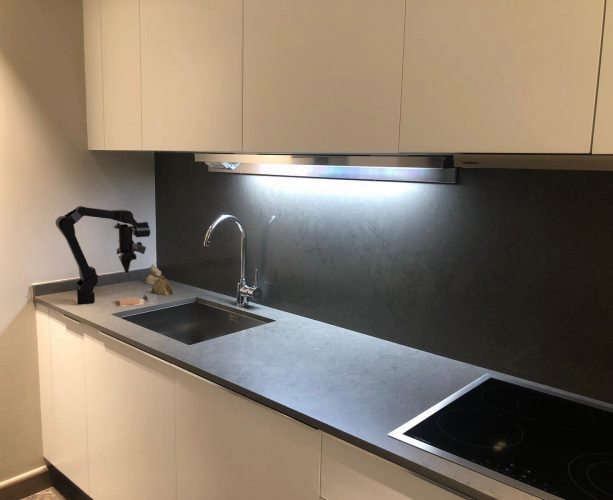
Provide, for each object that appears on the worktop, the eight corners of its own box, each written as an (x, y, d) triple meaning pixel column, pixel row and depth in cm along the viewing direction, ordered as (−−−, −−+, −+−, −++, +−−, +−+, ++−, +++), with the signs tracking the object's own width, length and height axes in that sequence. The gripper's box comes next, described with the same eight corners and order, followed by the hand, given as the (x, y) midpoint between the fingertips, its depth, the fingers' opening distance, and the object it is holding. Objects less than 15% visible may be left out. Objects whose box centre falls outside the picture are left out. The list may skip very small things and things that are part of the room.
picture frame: (118, 302, 241) (119, 305, 235) (117, 298, 240) (119, 302, 235) (137, 300, 244) (139, 303, 238) (136, 296, 244) (139, 300, 238)
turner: (145, 303, 238) (145, 301, 238) (141, 297, 249) (141, 295, 248) (152, 303, 240) (152, 300, 239) (148, 297, 250) (148, 294, 250)
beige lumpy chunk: (155, 285, 276) (154, 265, 274) (143, 283, 280) (142, 264, 278) (162, 283, 281) (162, 264, 279) (151, 281, 284) (150, 262, 283)
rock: (144, 289, 258) (152, 290, 250) (154, 273, 260) (162, 274, 252) (163, 300, 263) (171, 302, 255) (172, 285, 266) (181, 286, 258)
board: (114, 308, 233) (114, 306, 233) (111, 302, 242) (111, 301, 242) (152, 304, 240) (152, 303, 240) (148, 299, 249) (148, 298, 248)
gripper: (147, 240, 240) (148, 275, 243) (141, 234, 257) (141, 267, 259) (121, 241, 235) (122, 277, 238) (115, 235, 252) (117, 269, 254)
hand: (126, 272), depth 247 cm, fingers closed
